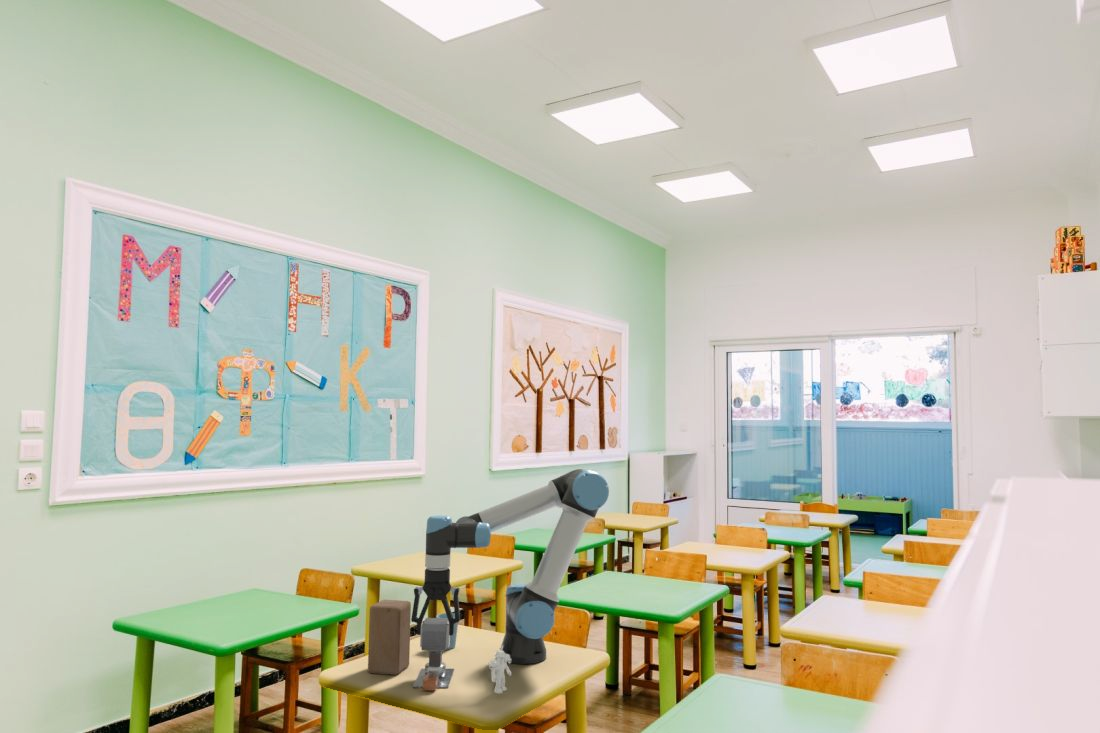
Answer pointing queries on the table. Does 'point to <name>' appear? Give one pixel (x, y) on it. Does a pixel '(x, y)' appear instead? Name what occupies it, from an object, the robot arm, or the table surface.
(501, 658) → the hat wearing toy figure
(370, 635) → the wooden block
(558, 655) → the table surface
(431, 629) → the grey metal cube
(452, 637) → the cup
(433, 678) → the lever
